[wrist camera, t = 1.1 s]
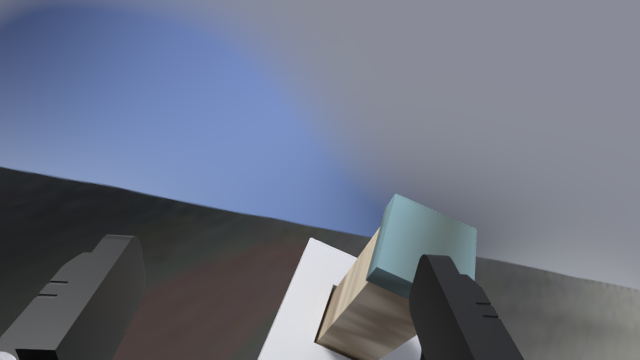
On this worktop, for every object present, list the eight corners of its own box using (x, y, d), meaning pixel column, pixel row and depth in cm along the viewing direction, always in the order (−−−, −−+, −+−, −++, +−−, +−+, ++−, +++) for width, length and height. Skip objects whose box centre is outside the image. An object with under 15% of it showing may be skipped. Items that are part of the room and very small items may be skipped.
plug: (302, 355, 30) (376, 266, 18) (321, 301, 34) (395, 193, 21) (357, 381, 30) (472, 309, 17) (371, 324, 33) (476, 229, 21)
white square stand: (248, 380, 28) (254, 369, 25) (301, 257, 36) (310, 237, 33) (386, 444, 28) (408, 440, 25) (410, 306, 36) (429, 290, 33)
